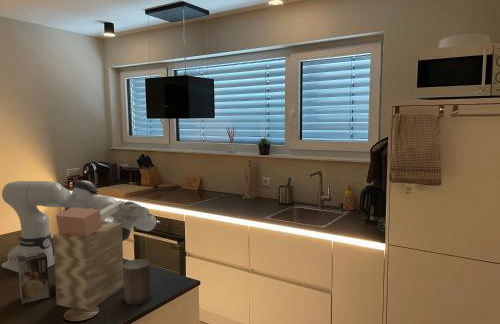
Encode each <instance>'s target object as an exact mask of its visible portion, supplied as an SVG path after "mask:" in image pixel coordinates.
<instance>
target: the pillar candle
mask: <svg viewBox="0 0 500 324" xmlns="http://www.w3.org/2000/svg"><path fill="white" fill-rule="evenodd" d="M123 278H124V287H123V293H124V294H123V295H124V297H123V298H124V302H125V303H126V304H127V305H135V306H137V305H141V304H145V303H147V302H149V301H150V300H151V299H152V294H151V293H152V289H151V286H152V285H151V262H150V261H149V260H148V259H142V258H137V259H132V260H127V261H126V262H123Z"/></svg>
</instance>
